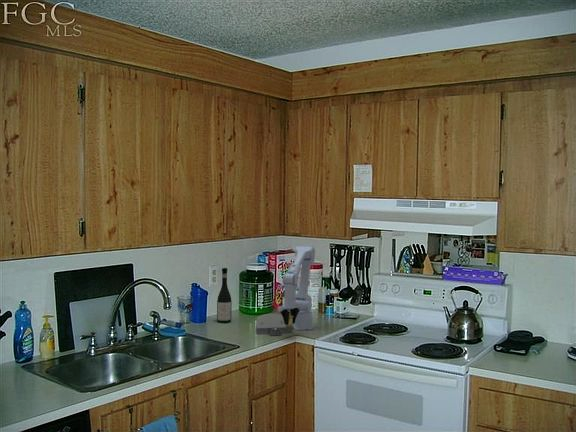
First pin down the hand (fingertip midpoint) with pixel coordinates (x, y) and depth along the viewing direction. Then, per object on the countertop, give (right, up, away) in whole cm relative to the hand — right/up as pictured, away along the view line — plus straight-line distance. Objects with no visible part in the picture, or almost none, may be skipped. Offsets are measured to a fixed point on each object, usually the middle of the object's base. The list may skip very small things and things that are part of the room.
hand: (289, 323), depth 280 cm
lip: (-7, -6, +4) cm, 11 cm away
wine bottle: (-37, -5, +30) cm, 48 cm away
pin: (0, -2, 0) cm, 2 cm away
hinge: (-10, -6, +12) cm, 17 cm away
